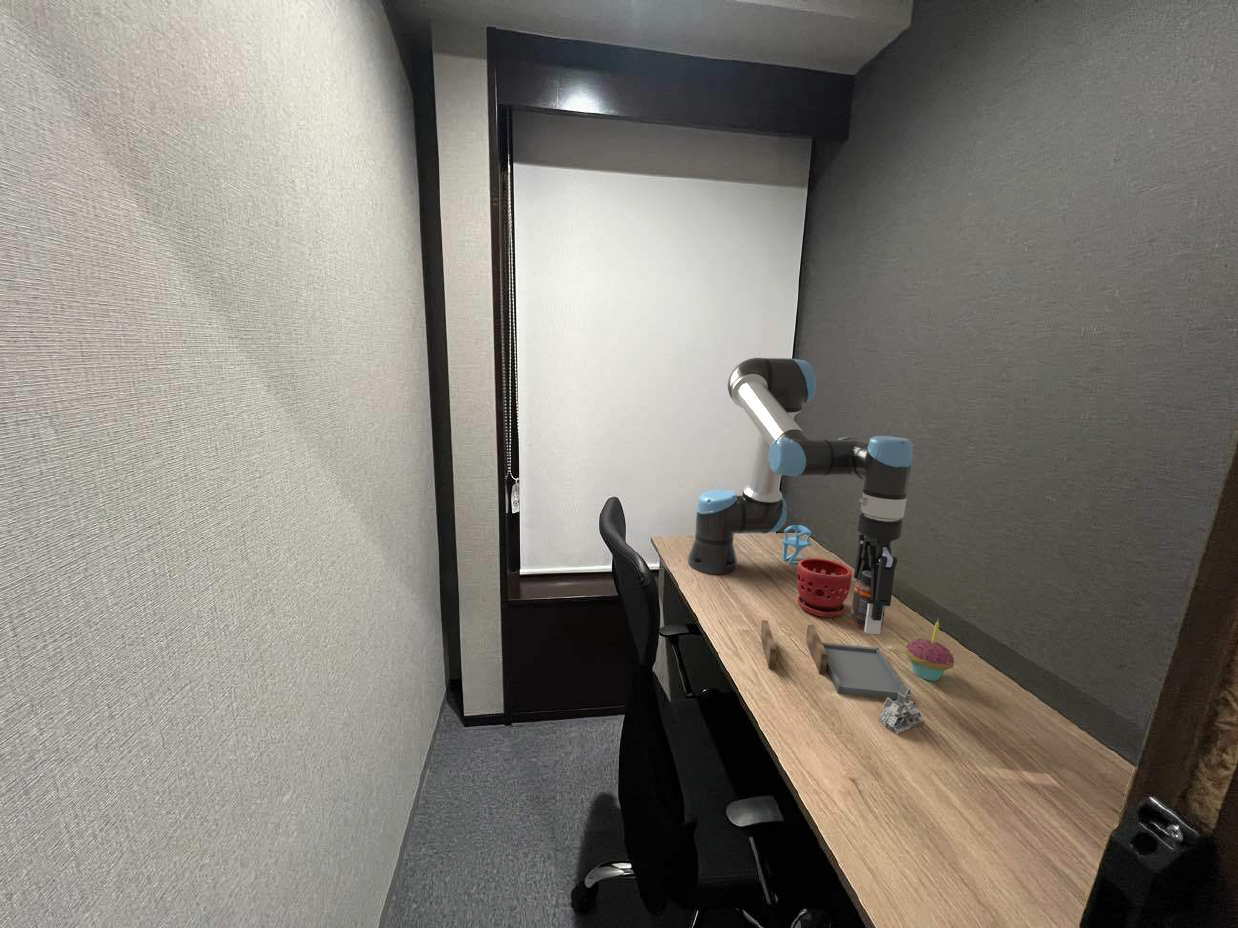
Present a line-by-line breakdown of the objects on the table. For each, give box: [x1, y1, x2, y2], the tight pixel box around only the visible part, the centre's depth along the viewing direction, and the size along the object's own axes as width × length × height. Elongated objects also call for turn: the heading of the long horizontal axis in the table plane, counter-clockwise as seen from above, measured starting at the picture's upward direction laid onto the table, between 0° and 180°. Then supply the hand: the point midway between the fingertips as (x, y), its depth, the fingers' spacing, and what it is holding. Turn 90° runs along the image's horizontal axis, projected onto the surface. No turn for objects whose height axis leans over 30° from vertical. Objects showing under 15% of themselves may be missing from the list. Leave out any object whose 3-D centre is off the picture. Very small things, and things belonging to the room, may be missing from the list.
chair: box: [781, 524, 812, 565], centre depth 162 cm, size 8×8×12 cm
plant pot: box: [796, 557, 853, 618], centre depth 130 cm, size 13×13×12 cm
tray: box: [821, 641, 904, 701], centre depth 104 cm, size 16×13×2 cm
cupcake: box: [905, 618, 955, 682], centre depth 103 cm, size 9×8×12 cm
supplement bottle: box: [850, 571, 886, 631], centre depth 101 cm, size 6×6×11 cm
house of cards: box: [878, 683, 925, 736], centre depth 92 cm, size 9×9×8 cm
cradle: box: [760, 620, 828, 675], centre depth 109 cm, size 12×11×4 cm
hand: (866, 623), depth 102 cm, fingers closed on supplement bottle, 6 cm apart
